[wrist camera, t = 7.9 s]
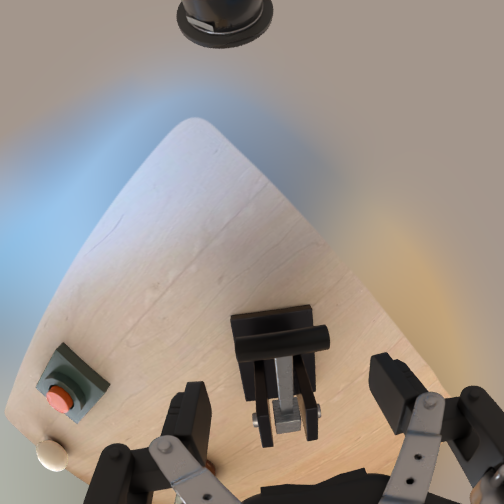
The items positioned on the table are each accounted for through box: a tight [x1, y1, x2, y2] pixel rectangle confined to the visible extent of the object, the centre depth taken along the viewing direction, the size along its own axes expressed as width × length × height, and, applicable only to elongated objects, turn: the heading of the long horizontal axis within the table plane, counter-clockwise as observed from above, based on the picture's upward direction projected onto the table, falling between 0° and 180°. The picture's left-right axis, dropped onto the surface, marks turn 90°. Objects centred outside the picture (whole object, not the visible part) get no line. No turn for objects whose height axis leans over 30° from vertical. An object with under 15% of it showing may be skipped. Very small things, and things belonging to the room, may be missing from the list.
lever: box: [235, 325, 330, 434], centre depth 20 cm, size 13×6×2 cm, turn 8°
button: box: [46, 385, 73, 413], centre depth 30 cm, size 4×4×2 cm
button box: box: [36, 343, 110, 424], centre depth 33 cm, size 12×9×4 cm
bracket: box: [230, 305, 321, 448], centre depth 27 cm, size 12×9×13 cm
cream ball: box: [36, 440, 68, 471], centre depth 35 cm, size 7×7×7 cm
